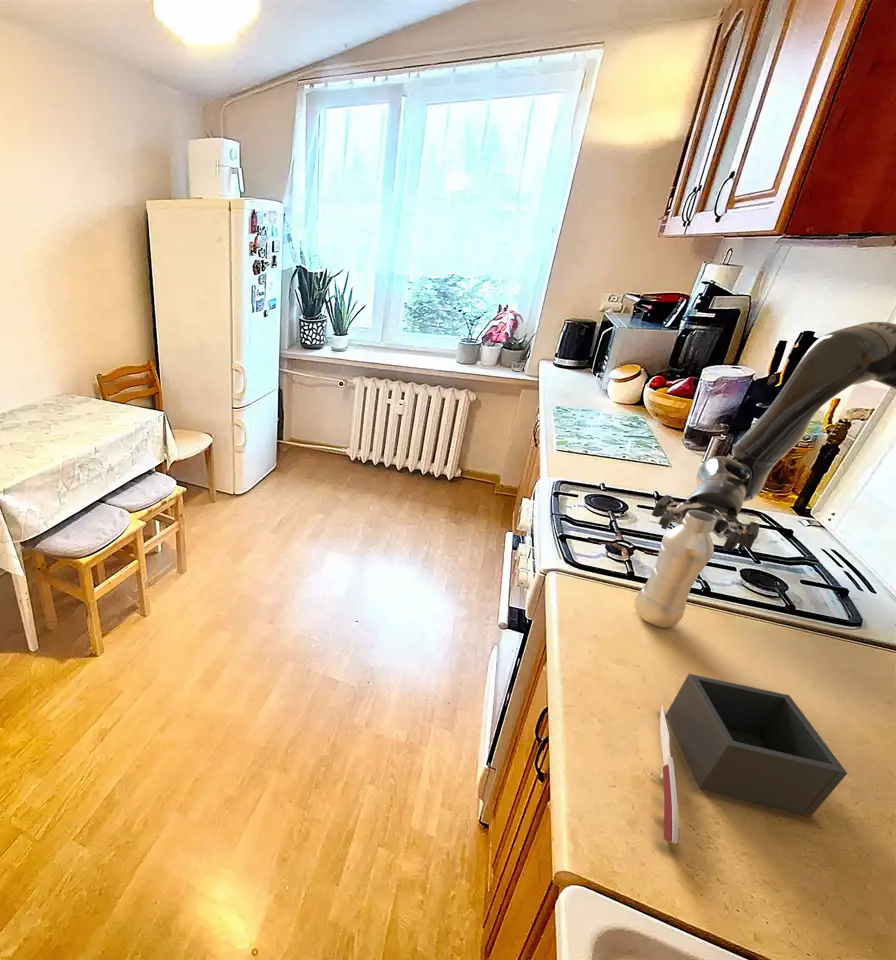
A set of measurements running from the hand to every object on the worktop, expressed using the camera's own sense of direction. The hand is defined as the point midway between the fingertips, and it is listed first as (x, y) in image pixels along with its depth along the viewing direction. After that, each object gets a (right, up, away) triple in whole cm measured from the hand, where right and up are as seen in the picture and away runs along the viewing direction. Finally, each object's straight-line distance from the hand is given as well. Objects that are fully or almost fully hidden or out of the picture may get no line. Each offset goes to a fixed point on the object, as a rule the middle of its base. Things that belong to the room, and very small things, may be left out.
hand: (695, 534), depth 88 cm
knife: (-26, -26, -25) cm, 45 cm away
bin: (-16, -26, -24) cm, 38 cm away
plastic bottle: (-8, -14, -1) cm, 16 cm away
